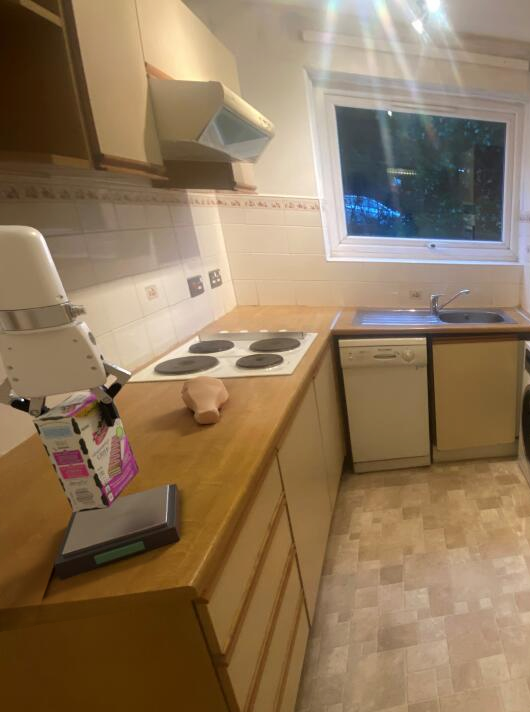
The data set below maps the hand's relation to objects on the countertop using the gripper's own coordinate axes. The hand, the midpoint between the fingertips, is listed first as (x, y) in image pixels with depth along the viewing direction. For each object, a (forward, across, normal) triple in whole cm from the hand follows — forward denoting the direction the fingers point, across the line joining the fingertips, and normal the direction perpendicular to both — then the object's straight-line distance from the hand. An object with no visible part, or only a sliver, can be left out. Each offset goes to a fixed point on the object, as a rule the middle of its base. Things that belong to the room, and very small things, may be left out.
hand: (84, 428), depth 68 cm
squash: (+21, -14, -49) cm, 55 cm away
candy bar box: (+12, 0, 0) cm, 12 cm away
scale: (+21, 0, 0) cm, 21 cm away
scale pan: (+18, 0, 0) cm, 18 cm away
